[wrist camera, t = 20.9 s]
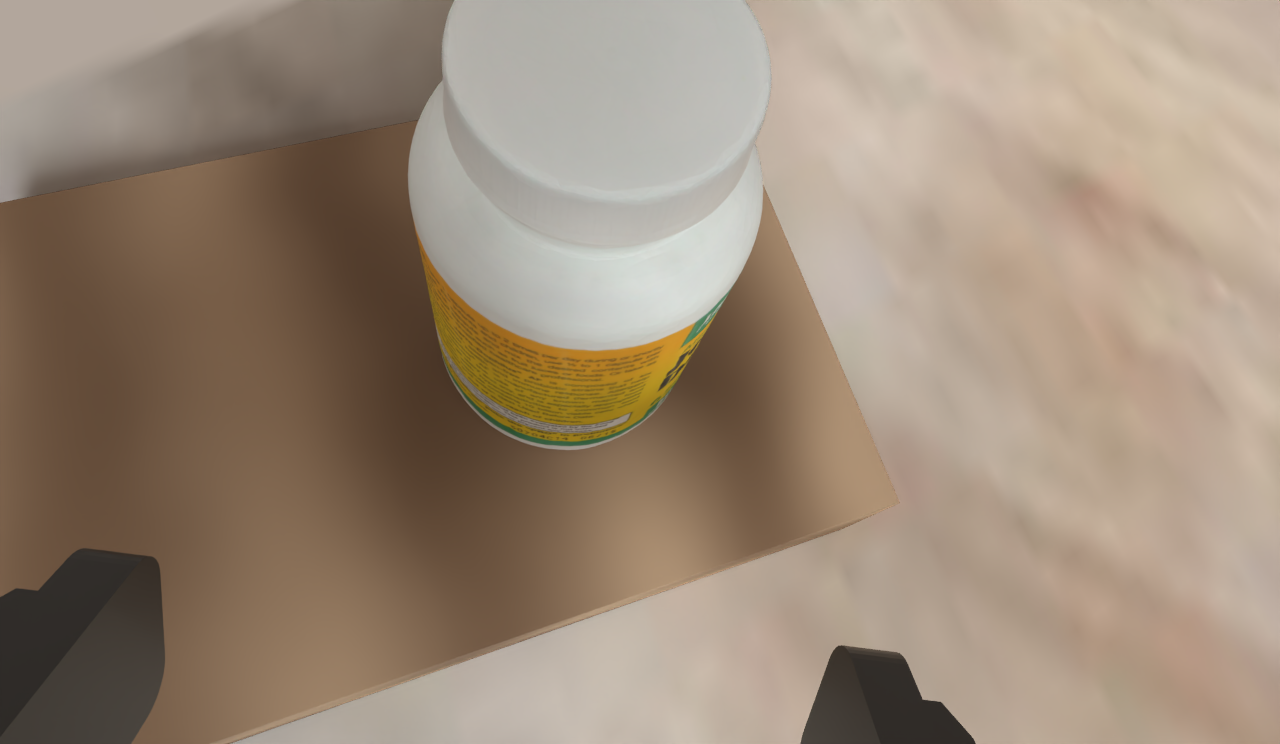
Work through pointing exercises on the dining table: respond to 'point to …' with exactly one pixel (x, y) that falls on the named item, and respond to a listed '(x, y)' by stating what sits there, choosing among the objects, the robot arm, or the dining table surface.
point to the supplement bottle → (586, 202)
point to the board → (365, 437)
